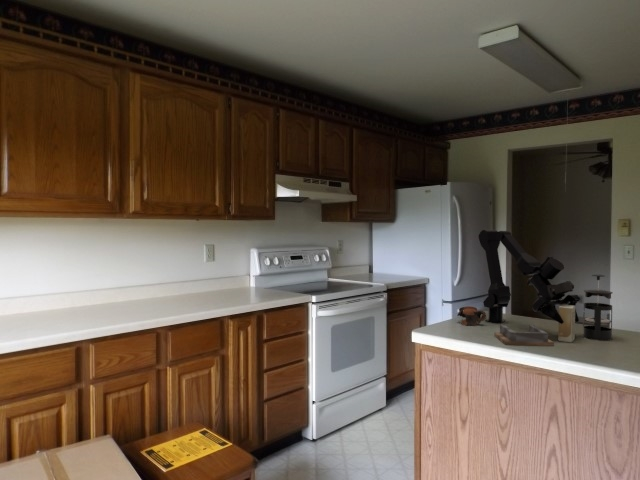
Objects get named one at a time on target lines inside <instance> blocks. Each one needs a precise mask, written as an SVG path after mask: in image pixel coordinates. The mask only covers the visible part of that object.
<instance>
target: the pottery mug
mask: <svg viewBox="0 0 640 480" xmlns="http://www.w3.org/2000/svg"><path fill="white" fill-rule="evenodd" d="M457 317H462V318H465V319H461V325H462V326H467V325H468V326H475V327H477V323H478V324H480V323H481V322H483V321H484V320H486V317H487V314H486V311H484V310H478V309H477V307H476V306H461V307H460V308H458V312H457Z"/></svg>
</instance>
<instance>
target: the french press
mask: <svg viewBox="0 0 640 480" xmlns="http://www.w3.org/2000/svg"><path fill="white" fill-rule="evenodd" d="M591 277H596V280H597V289H584V290H583V292H584V295H585V298H590V297H594V296H595V297H597V298H596V299H597V300H596V301H597V302H585V303H583V309H587V310H593V311H594V312H593V313H594V316H593V317H585V313H583V314H582V315H583V320H582V321H583V324H582V330H583V331H582V337H583V338H586V339H589V340H596V341H611V340H613V305H612V304H608V303H603V302H599V297H604V298H606V299H608V300H610V299H612V294H613V291H609V290H605V289H599V287H600V281H601V277H605V275H604V274H592V275H591ZM602 311H610V312H611V313H610V319H607V318H602ZM585 322H587V323H592V324H593V325H585ZM606 324H607V325H609V324H610V327H606V326H601V325H606Z"/></svg>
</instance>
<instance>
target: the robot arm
mask: <svg viewBox="0 0 640 480" xmlns="http://www.w3.org/2000/svg"><path fill="white" fill-rule="evenodd" d="M478 240H479V244H480V246H481V248H482V249H483V250H484V251H485V258H486V262H487V263H486V264H487V269H488V275H489V280H490V281H489V283H490V285H489V287H488V290H487V293H488V294H487V297H486V298H485V299H484V300H483V301H482V303H483V306H484V308H488V315H487V316H488V318H486V319H485V322H488V323H489V322H490V323H497V324H502V323H504V322H506V319H503V317H504V308H507V307H508V305H509V304H510V301H511V296H512V294H511V291H510V290H511V288H510V286H509V285H506V284H505V283H504V280H503V273H502V267H501V263H500V256H499V251H498V249H499V246H500V244H502V245H503V247H505V249H506V250H507V251H508V253H509V254H510V255H511V256H512V257H513V259H514V260H515V262H516V264H515V265H516V267H517V269H518V271H519V272H520V274H521V275H523V276H531V277H529V278H527V282H526V286H533V287H534V289H535V290H536V291H537V292H538V293H537V294H536V296H537V297H538V298H537V299H536V300H535V301H534V302H533V303H532V305H531V306H532V307H531V308H532V310H533V311H534V313H537V312H539V313H540V314H543V315H544V316H547V317H549V318H551V319H552V320H554V321H556V322H557V323H558V324H559V323H561V324H563V323H564V321H563V319H562V318H561V316H560V315H559V310H557V308H556V306H561V305H574V306H575V323H578V322H579V321H580V318H579V316H578V314H577V313H578V312H577V309H576V304H578V302H580V300H581V297H580V296H579V294H573V293H572V294H567V293H569V292H573V291H574V288H575V285H574V284H573V283H572V282H571V281H570V280H566V281H564V282H561V283H558V284H553V283H552V282H551V280H555V278H557V276H558V275H560V273H562V272H563V271H564V269H565V265H564V263H563V262H561V261H559V260H558V259H556V258H554V257H553V256H547V257H546V259H545V260H544V261H543V262H542V263H541V262H540V260H538V259H537V258H535V257H534V256H533V255H530V254H529V253H527V252H526V251H525V249H524V248H523V247H522V246H521V245H520V243H519V242H518V241H517V240H516V238H514V237H513V235H512V232H510V231H508V230H499V231H497V230H496V229H482V230H481V231H480V232H479V234H478ZM566 294H567V295H566ZM563 297H564V298H563Z"/></svg>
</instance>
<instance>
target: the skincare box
mask: <svg viewBox="0 0 640 480" xmlns="http://www.w3.org/2000/svg"><path fill="white" fill-rule="evenodd" d="M575 308H576V305H575V306H574V305H559V306H558V313H559V315H560V316H561V318H562V319H563V321H564V323H563V324H561V323H559V322H558V332H557V333H558V335H557V337H558V338H557V339H558V342H559V341H560V342H567V343H573V342H574V340H575V339H576V338H575V337H576V321H575Z"/></svg>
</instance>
